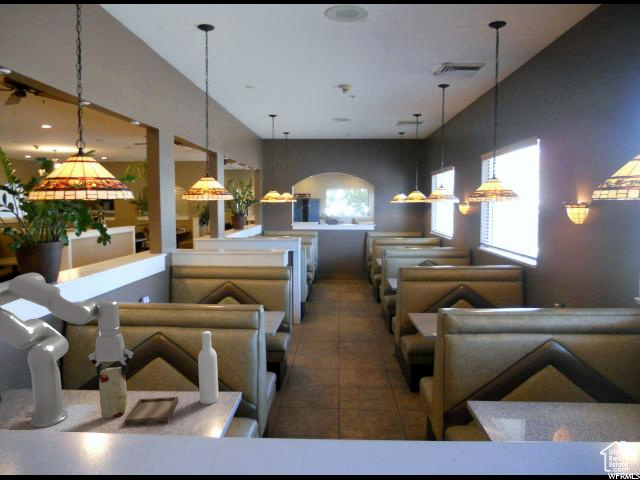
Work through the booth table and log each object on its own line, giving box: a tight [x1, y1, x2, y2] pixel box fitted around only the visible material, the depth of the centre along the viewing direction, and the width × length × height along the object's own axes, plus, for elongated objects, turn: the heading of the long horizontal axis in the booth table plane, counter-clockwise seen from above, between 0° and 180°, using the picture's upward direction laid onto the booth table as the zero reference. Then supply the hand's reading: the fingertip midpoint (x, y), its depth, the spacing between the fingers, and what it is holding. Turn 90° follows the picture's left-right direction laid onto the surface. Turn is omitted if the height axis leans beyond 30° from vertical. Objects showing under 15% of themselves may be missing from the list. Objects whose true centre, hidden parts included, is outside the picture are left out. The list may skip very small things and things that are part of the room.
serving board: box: [124, 396, 179, 427], centre depth 178 cm, size 16×18×2 cm
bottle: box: [197, 330, 220, 405], centre depth 188 cm, size 8×8×30 cm
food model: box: [98, 366, 128, 419], centre depth 176 cm, size 10×7×20 cm
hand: (112, 374), depth 175 cm, fingers closed on food model, 8 cm apart
